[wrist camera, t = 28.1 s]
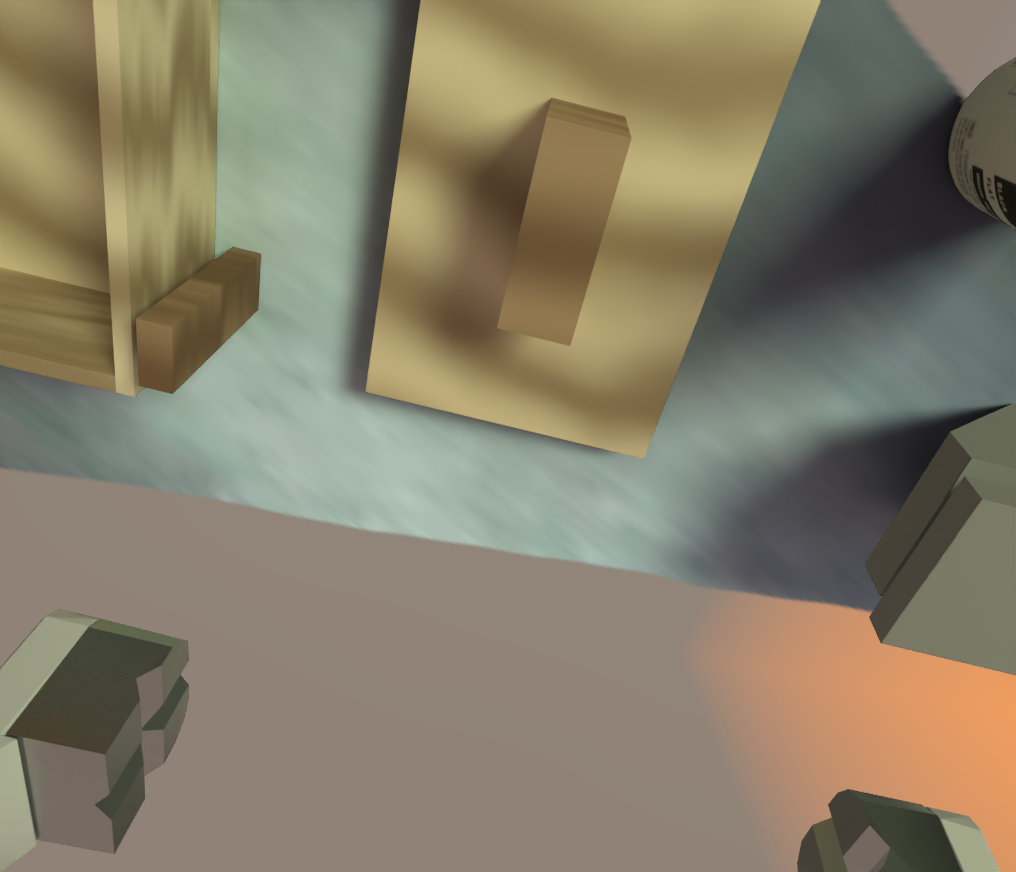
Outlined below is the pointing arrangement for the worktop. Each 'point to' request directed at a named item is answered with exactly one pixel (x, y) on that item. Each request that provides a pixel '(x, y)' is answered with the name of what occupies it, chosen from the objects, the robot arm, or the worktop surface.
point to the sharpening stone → (955, 552)
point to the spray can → (988, 146)
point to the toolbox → (113, 194)
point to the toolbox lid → (570, 202)
